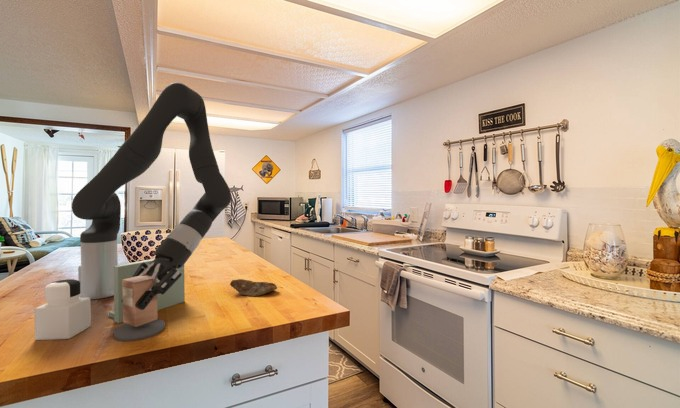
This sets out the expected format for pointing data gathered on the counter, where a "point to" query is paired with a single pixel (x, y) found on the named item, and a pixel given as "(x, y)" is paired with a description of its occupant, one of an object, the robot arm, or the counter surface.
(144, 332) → the mat
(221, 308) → the counter surface
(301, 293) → the counter surface
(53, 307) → the white stepped block
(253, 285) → the decorative stone
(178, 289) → the screen
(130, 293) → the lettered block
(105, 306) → the counter surface
